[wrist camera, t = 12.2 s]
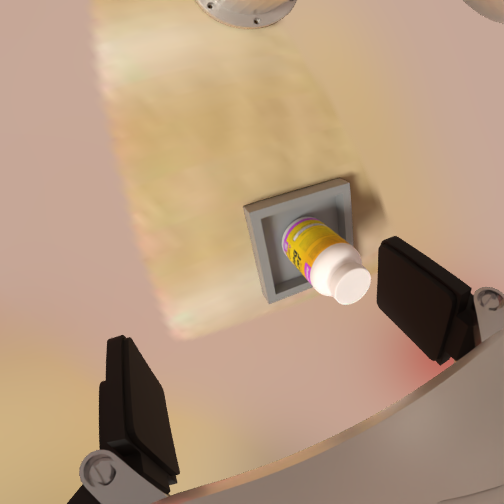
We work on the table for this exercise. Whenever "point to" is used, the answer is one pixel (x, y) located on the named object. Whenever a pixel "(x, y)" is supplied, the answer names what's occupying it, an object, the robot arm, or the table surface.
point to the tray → (276, 222)
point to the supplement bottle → (326, 260)
